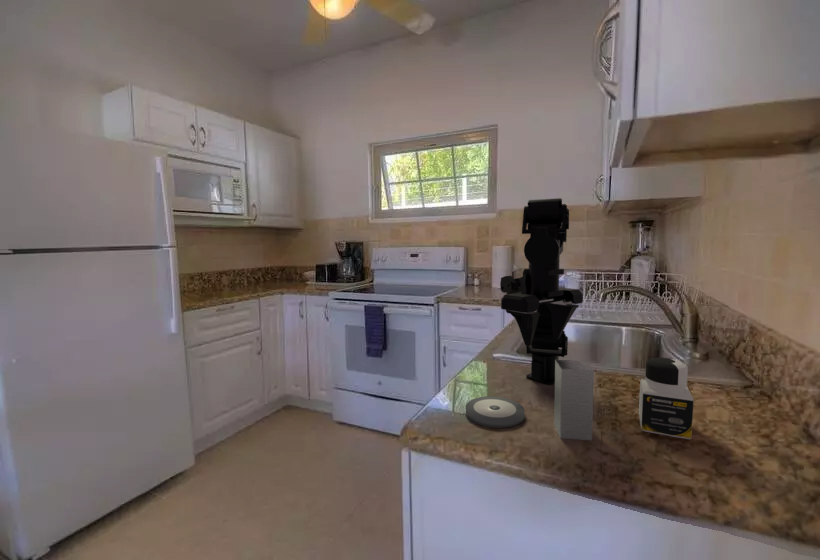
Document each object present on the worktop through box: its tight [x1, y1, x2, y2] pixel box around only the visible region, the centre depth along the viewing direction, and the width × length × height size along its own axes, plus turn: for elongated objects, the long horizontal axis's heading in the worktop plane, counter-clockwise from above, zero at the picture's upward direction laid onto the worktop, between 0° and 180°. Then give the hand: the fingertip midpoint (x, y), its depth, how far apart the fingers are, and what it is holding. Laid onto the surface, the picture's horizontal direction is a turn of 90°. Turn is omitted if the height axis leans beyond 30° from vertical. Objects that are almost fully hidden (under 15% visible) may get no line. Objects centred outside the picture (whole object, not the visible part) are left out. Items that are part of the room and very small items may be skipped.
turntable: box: [465, 395, 525, 429], centre depth 74 cm, size 11×11×1 cm
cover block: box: [553, 359, 595, 441], centre depth 66 cm, size 5×5×12 cm
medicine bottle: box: [638, 357, 695, 440], centre depth 67 cm, size 7×7×12 cm
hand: (542, 341), depth 77 cm, fingers open, 9 cm apart
